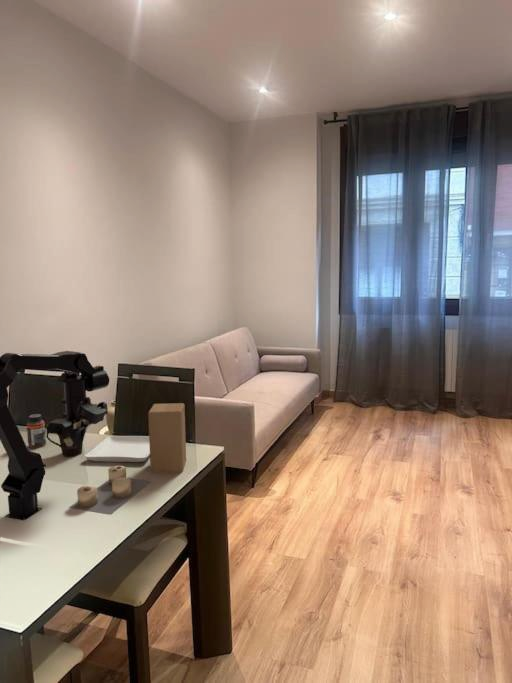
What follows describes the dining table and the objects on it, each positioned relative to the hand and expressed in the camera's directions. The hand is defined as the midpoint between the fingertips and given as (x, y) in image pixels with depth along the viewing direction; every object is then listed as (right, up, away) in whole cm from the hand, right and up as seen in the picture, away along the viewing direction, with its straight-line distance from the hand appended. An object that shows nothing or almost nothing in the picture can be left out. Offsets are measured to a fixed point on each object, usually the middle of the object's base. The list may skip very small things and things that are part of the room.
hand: (78, 447), depth 140 cm
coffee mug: (-14, -8, +29) cm, 33 cm away
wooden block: (+23, -10, +15) cm, 30 cm away
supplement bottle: (-29, -7, +37) cm, 47 cm away
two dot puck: (+10, -11, +4) cm, 15 cm away
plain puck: (+14, -12, -5) cm, 19 cm away
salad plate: (+6, -9, +28) cm, 30 cm away
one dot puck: (+6, -13, -10) cm, 17 cm away
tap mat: (+11, -13, -4) cm, 17 cm away
